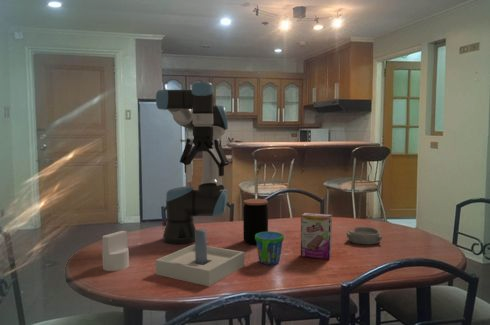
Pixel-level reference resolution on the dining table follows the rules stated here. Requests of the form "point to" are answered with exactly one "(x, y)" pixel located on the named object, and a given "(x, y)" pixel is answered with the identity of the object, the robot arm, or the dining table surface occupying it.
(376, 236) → the dish
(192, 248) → the beige square tray
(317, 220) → the candy bar box
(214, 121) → the robot arm
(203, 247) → the peg
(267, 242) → the snack cup
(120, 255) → the white stepped block
